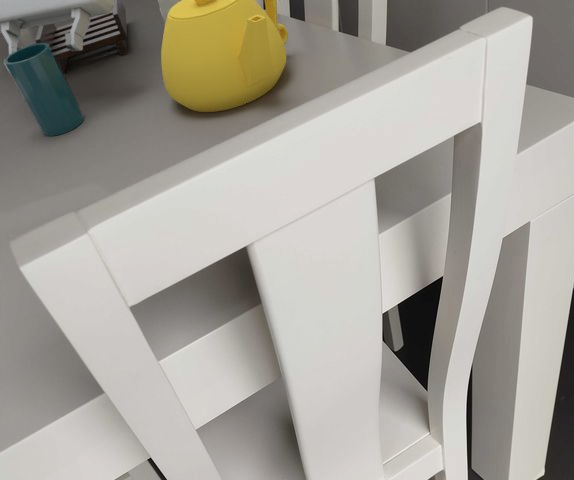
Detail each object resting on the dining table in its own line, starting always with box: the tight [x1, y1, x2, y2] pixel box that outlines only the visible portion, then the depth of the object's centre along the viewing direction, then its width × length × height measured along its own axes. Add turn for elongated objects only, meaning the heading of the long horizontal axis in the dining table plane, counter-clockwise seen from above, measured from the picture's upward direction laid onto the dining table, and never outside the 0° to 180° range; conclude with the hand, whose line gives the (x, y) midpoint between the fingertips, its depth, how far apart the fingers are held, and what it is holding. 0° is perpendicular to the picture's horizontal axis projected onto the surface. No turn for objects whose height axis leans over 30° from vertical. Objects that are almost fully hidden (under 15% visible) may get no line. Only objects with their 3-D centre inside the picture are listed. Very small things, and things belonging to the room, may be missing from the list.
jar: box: [157, 0, 182, 24], centre depth 90 cm, size 9×8×12 cm
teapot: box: [160, 0, 289, 113], centre depth 75 cm, size 20×19×13 cm
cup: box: [3, 43, 85, 137], centre depth 81 cm, size 6×6×10 cm
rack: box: [35, 0, 129, 75], centre depth 103 cm, size 14×17×6 cm
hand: (45, 54), depth 81 cm, fingers open, 8 cm apart
